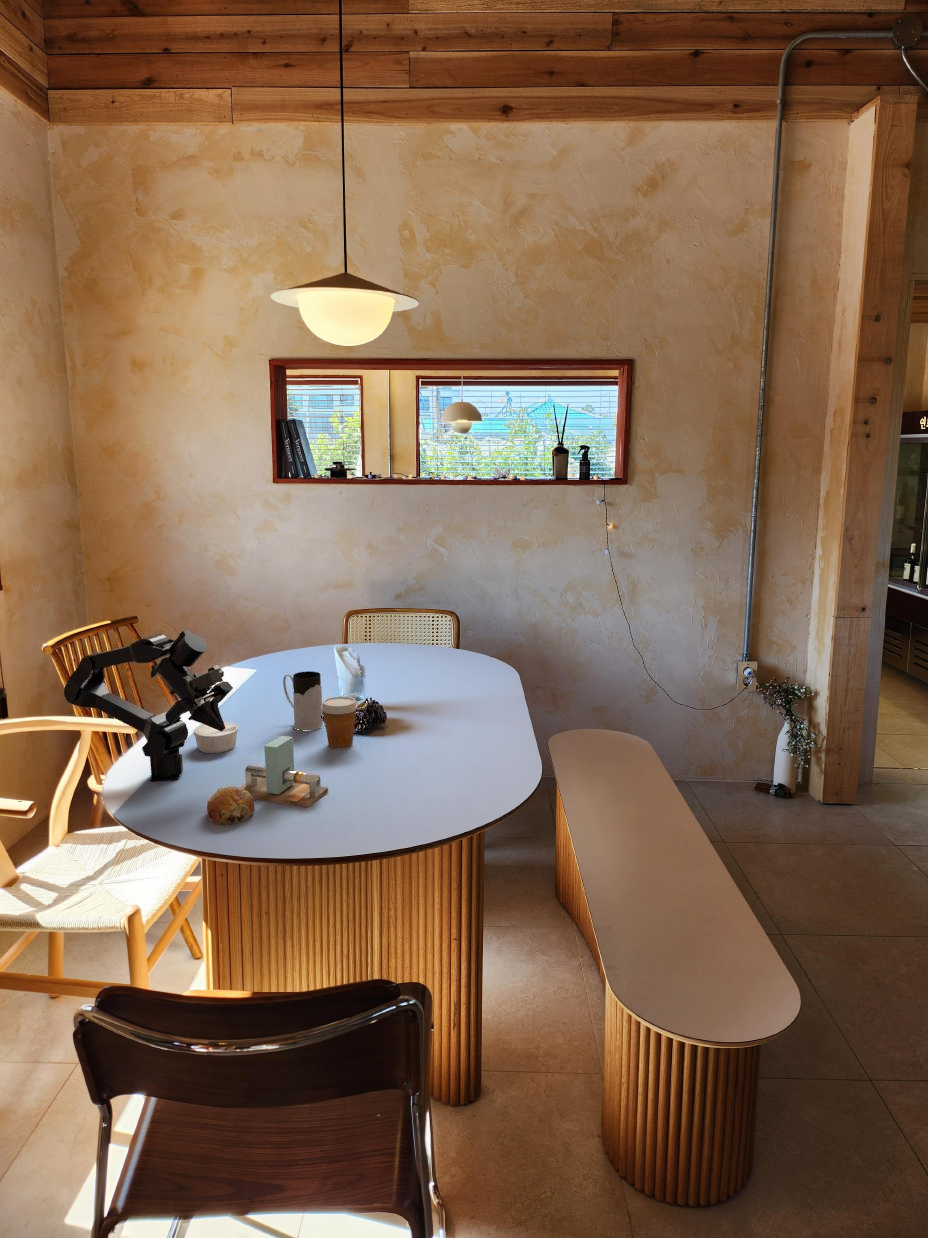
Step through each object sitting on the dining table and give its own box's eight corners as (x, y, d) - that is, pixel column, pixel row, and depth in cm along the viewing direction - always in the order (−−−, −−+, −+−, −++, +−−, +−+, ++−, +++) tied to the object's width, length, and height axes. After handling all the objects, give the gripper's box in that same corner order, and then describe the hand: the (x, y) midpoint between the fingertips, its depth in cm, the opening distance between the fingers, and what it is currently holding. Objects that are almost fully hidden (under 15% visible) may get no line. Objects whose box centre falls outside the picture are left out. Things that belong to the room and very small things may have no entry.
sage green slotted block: (266, 792, 186) (264, 745, 184) (283, 781, 192) (281, 735, 190) (278, 794, 185) (276, 747, 183) (294, 782, 191) (292, 737, 189)
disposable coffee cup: (324, 752, 215) (323, 708, 212) (320, 740, 224) (319, 697, 221) (361, 749, 217) (360, 705, 215) (355, 737, 226) (354, 694, 224)
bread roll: (258, 824, 182) (259, 787, 184) (247, 824, 172) (249, 785, 174) (212, 825, 182) (214, 787, 184) (199, 825, 172) (201, 785, 174)
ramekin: (226, 757, 212) (225, 737, 211) (186, 753, 214) (185, 734, 213) (246, 742, 223) (245, 723, 221) (208, 739, 225) (206, 720, 224)
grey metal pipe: (245, 786, 190) (244, 767, 189) (251, 782, 193) (250, 763, 192) (315, 797, 184) (314, 777, 184) (321, 793, 187) (320, 773, 186)
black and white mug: (307, 733, 229) (305, 680, 226) (273, 723, 238) (271, 672, 235) (330, 725, 236) (329, 674, 233) (297, 715, 244) (295, 666, 241)
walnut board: (233, 795, 188) (233, 790, 188) (256, 781, 196) (255, 776, 196) (308, 807, 182) (308, 802, 181) (328, 791, 190) (327, 787, 190)
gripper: (172, 667, 181) (218, 721, 179) (223, 648, 198) (266, 697, 197) (145, 698, 185) (190, 751, 183) (198, 677, 202) (239, 725, 201)
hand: (223, 729), depth 191 cm, fingers closed
